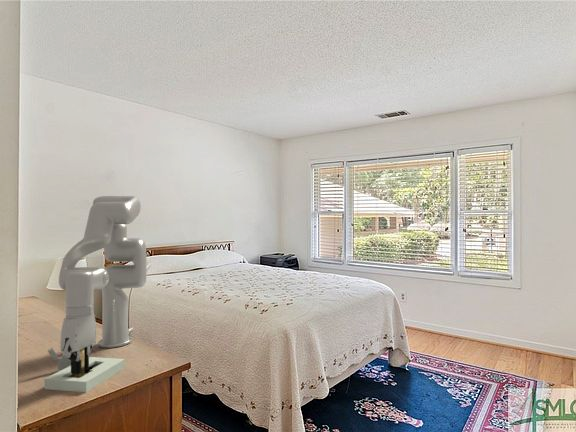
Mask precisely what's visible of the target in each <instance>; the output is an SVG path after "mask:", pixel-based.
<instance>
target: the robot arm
mask: <svg viewBox="0 0 576 432" xmlns="http://www.w3.org/2000/svg"><path fill="white" fill-rule="evenodd" d="M141 207H142V206H141V202H140V200H139V198H138V197H137V196H134V195H103V196H98V197H95V198H94V199H93V201H92V205H91V207H90V209H89V211H88V212H89V213H88V217H87V222H86V226H85V229H84V235H83V238H82V239H81V240H80V241H78V242H77V243H76V244H74V245H73V246H72V247H70V249H69V250H68V251H67V253H66V254H65V255H64V257H63V259H62V262H61V266H60V270H59V274H58V285H59V287H60V289H62V290H63V291H65V318H63V321H62V324H61V333H60V346H59V347H60V351H61V352H62V355H61V357H66V358H68V359H69V361H71V373H72V374H75V375H76V374H80V373H81V360H80V350H81V349H83V348H85V371H88V370H90V367H89V357H90V356H91V351H92V349H93V347H94V346H95V344H97V345H98V347H100V348H103V349H104V348H105V349H107V348H110V349H111V348H119V347H123V346H126V345H128V344H131V343H132V342H133V337H132V336H130V334H131V333H133V332H134V330H135V329H134V327H133V326H131V327H130V328H129V298H128V295H127V293H125V291H124V289H139V288H143V287H144V286H145V285H146V283H147V246H146V243H145V241H144V239H141V238H139V237H138V238H135V237H134V238H133V237H131V238H130V237H129V238H128V237H127V236H128V234H127V232H128V231H127V229H128V228H127V227H128V226H127V225H130V224H131V223H133V222H134V221H135V220H136V219H137V217H138V216H139V214H140V212H141ZM101 250H103V255H104V259H105V260H106V261H107V262H111V263H113V262H114V263H115V262H117V263H122V262H123V263H124V262H129V263H130V262H132V263H133V264H113V265H112V264H111V265H107V266H104V267H101V266H89V267H88V266H85V267H84V266H83V267H76V265H77V264H78V262H79V261H81V260H82V259H83V258H85V257H87V256H88V255H90V254H93V253H94V252H95V253H96V252H97V251H101ZM100 290H101V294H102V295H101V296H102V297H101V299H102V304H101V305H102V313H101V314H102V321H101V322H102V325H101V326H102V329H101V330H102V337H101V338H102V339H100V340H99V341H98V342H97V341H96V340H97V323H96V315H95V312H94V311H95V310H94V309H95V307H94V306H95V305H94V304H95V301H94V299H95V297H94V295H95V294H94V293H95V291H100Z"/></svg>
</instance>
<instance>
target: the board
mask: <svg viewBox="0 0 576 432" xmlns="http://www.w3.org/2000/svg"><path fill="white" fill-rule="evenodd" d="M89 368H92V369H89V371H88V373H85V374H86V375H84V376H82V377H80V378H72V377H73V376H75V375H76V374H72V373H71V366H69V367H67V368H65V369H63V370H61V371H59V372H58V371H57V372H55V373H53V374H51V375H49V376H47V377H45V378H44V381H43V382H44V383H43V384H44V385H43V389H44V390H53V391H63V392H74V393H75V392H78V393H88V392H89V391H91V390H93V389H94V388H96V387H97V386H99V385H101V384H102V383H104V382H106V381H107V380H109V379H110V378H112V377H114V375H116V374H118V373H120V372H121V371H123V370H124V369H126V358H114V357H98V356H89Z"/></svg>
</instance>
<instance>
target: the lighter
mask: <svg viewBox="0 0 576 432" xmlns="http://www.w3.org/2000/svg"><path fill="white" fill-rule="evenodd" d="M47 352H48V354H49V355H50V357H51V358H52V360H53V362H56V361H58V365H57V369H58V370H57V372H59V371H61V370H63V369H65V368H67V367H69V366H71V361H69V359H68V358H66V357H62V356H60V357H58V355H57V353H56V351H55V350H54V349H53V347H50V348H49V349H47Z"/></svg>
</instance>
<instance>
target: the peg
mask: <svg viewBox="0 0 576 432" xmlns="http://www.w3.org/2000/svg"><path fill="white" fill-rule="evenodd" d="M80 360H81V373H80V374H75V375H73V376H71V378H80V377H82V376H84V375H86V374H87V373H85V371H86V370H85V348H83V349H81V350H80Z"/></svg>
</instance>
